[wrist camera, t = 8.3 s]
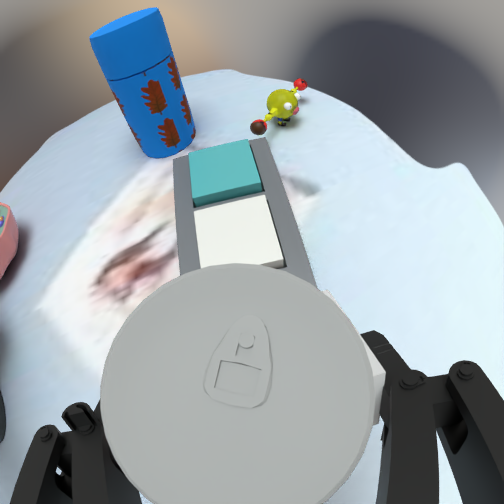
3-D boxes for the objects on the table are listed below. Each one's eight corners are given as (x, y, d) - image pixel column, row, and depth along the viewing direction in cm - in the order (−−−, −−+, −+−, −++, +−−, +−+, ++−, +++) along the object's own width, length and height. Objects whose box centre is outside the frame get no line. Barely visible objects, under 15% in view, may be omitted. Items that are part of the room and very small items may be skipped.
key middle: (210, 288, 32) (202, 277, 29) (201, 226, 36) (193, 211, 33) (283, 272, 32) (283, 258, 29) (266, 211, 36) (264, 194, 33)
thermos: (202, 118, 50) (170, 2, 28) (188, 156, 45) (140, 22, 23) (152, 124, 51) (110, 20, 29) (134, 161, 47) (74, 47, 24)
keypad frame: (208, 396, 28) (197, 397, 25) (180, 176, 43) (173, 159, 40) (332, 369, 28) (339, 366, 25) (267, 155, 43) (265, 137, 40)
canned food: (316, 332, 18) (355, 248, 8) (325, 451, 14) (380, 519, 4) (198, 339, 18) (109, 268, 8) (201, 456, 14) (105, 510, 5)
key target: (199, 214, 37) (192, 198, 34) (194, 169, 41) (188, 153, 38) (263, 199, 37) (261, 182, 34) (250, 156, 41) (247, 138, 38)
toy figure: (273, 157, 43) (271, 124, 37) (243, 147, 45) (238, 115, 39) (317, 103, 49) (318, 74, 43) (291, 96, 51) (290, 68, 45)
